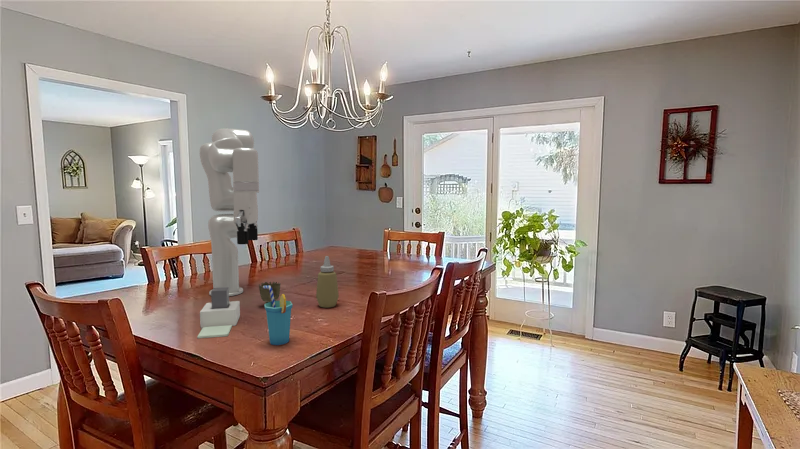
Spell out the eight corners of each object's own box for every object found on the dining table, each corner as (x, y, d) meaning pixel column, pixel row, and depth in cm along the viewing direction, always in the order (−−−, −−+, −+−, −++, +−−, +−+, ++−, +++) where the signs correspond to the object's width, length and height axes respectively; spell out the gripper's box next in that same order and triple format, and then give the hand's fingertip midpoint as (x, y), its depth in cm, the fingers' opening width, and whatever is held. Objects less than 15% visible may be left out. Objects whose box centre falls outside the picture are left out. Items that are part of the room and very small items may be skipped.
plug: (215, 318, 133) (213, 287, 132) (229, 317, 134) (228, 287, 133) (212, 322, 129) (211, 291, 128) (227, 321, 130) (226, 290, 129)
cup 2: (274, 309, 145) (274, 286, 144) (255, 307, 146) (254, 285, 146) (284, 303, 152) (284, 281, 151) (266, 302, 154) (265, 280, 153)
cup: (252, 337, 118) (251, 285, 116) (277, 331, 123) (276, 281, 122) (277, 351, 108) (276, 295, 106) (303, 343, 113) (302, 289, 112)
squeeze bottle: (311, 305, 149) (310, 256, 147) (329, 301, 155) (329, 253, 153) (325, 310, 144) (324, 259, 142) (343, 305, 150) (343, 256, 148)
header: (207, 317, 135) (206, 302, 135) (240, 315, 137) (239, 300, 137) (200, 328, 125) (199, 312, 125) (235, 325, 128) (235, 309, 127)
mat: (203, 329, 125) (203, 327, 125) (231, 326, 127) (231, 325, 126) (197, 338, 117) (197, 336, 117) (227, 336, 119) (227, 334, 119)
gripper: (243, 187, 139) (244, 238, 140) (223, 188, 121) (225, 246, 123) (265, 188, 139) (267, 238, 141) (249, 188, 122) (251, 245, 123)
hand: (247, 242), depth 132 cm, fingers open, 9 cm apart
